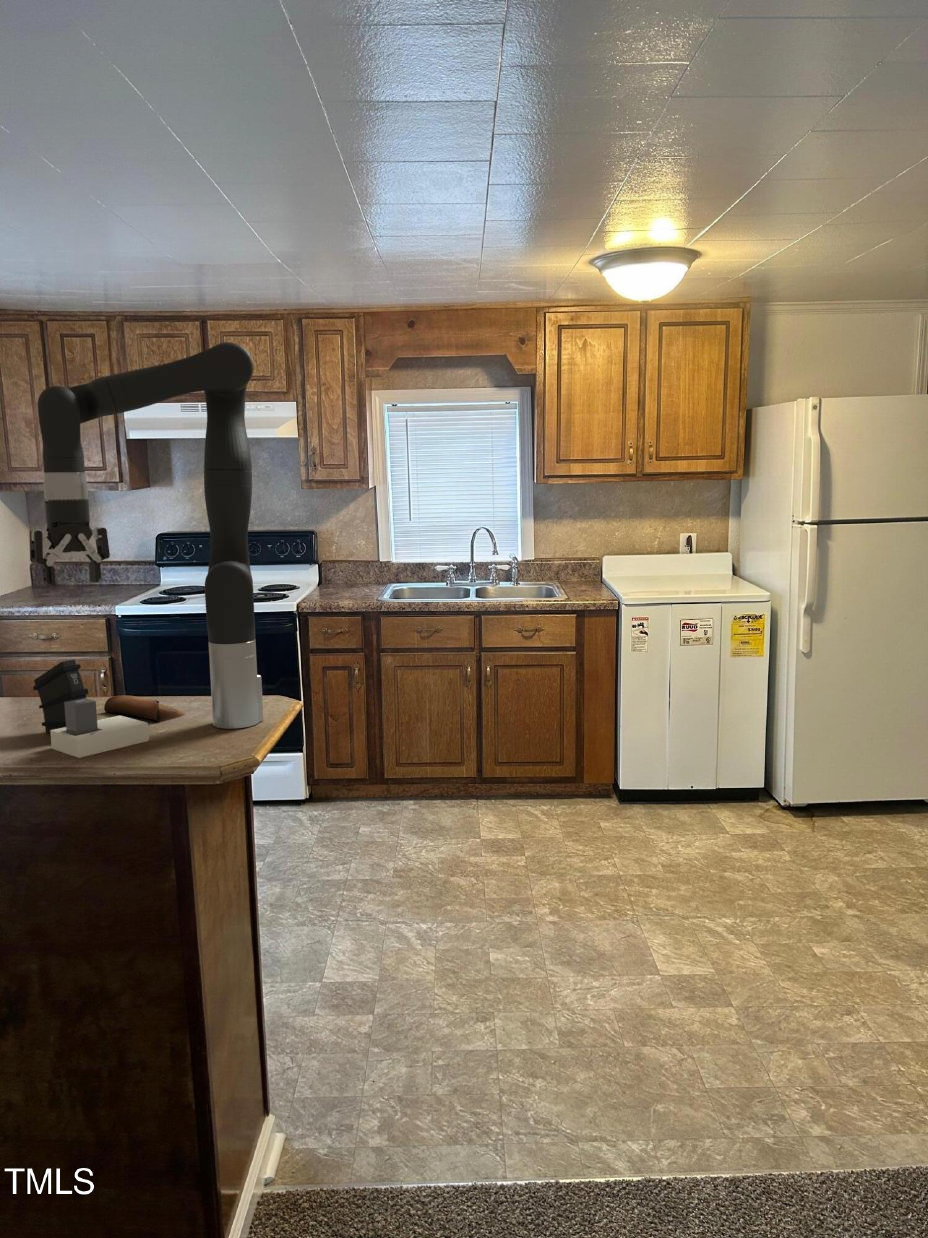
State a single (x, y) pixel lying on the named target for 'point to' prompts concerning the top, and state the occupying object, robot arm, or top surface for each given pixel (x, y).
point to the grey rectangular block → (81, 716)
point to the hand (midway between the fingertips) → (73, 584)
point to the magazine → (59, 692)
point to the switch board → (101, 737)
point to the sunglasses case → (141, 708)
